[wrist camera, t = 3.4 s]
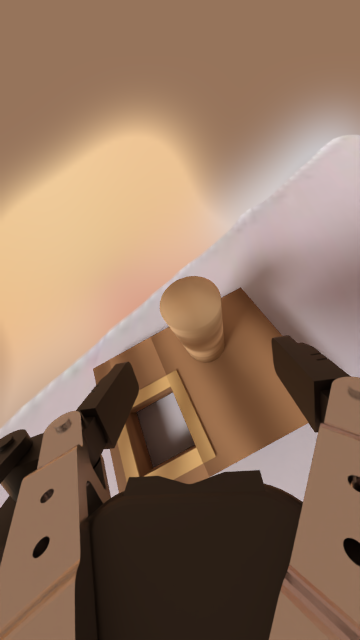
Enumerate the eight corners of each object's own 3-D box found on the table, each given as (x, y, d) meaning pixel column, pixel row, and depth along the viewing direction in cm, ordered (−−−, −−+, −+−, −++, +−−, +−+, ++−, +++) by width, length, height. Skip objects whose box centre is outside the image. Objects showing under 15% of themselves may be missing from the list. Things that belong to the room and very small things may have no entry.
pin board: (239, 300, 24) (240, 286, 21) (324, 405, 17) (342, 404, 15) (107, 373, 24) (91, 368, 21) (141, 505, 17) (124, 524, 15)
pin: (212, 320, 21) (201, 266, 13) (232, 350, 19) (233, 309, 11) (181, 337, 21) (151, 294, 13) (197, 369, 19) (174, 341, 11)
